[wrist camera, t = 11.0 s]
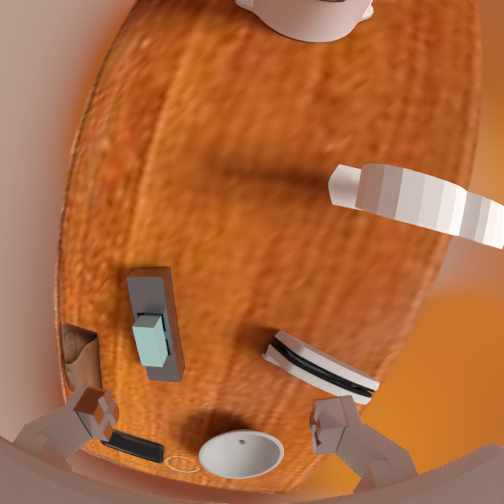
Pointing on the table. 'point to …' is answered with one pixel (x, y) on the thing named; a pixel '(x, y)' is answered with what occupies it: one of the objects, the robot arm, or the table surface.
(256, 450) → the dish
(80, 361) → the sunglasses case
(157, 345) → the pale teal plug block
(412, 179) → the heart sculpture
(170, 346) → the grey rectangular block
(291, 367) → the napkin holder
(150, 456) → the phone
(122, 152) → the table surface
